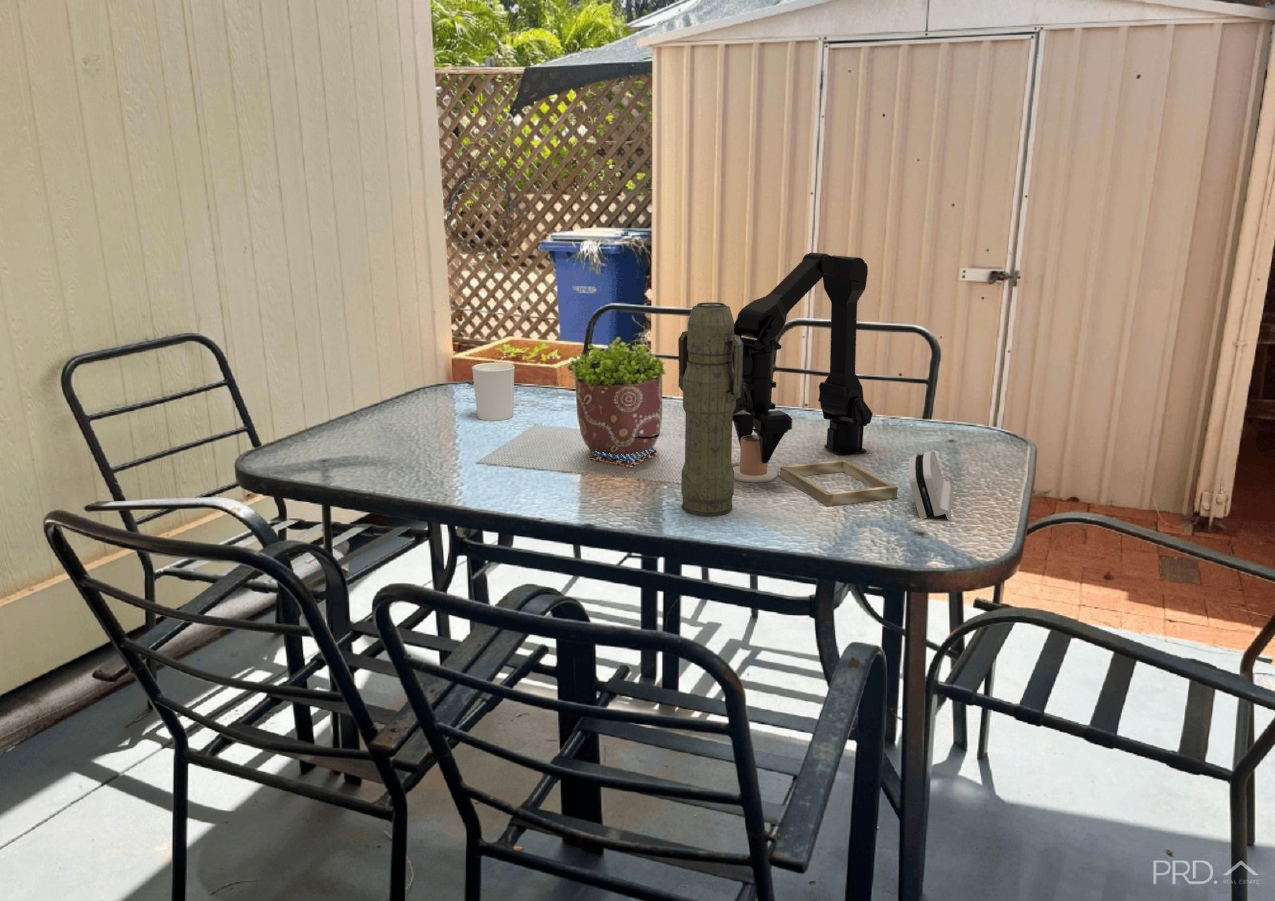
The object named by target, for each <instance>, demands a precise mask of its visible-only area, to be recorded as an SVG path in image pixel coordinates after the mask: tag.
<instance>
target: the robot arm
mask: <svg viewBox="0 0 1275 901" xmlns="http://www.w3.org/2000/svg"><path fill="white" fill-rule="evenodd" d="M868 272H869V270H868V264H867V262H865V260H864V259H863V258H862V257H857V256H844V255H830V254H828V253H823V252H822V253H821V252H808V253H806V254H805V255H804V256H803V257H802V261H800V263H799V264H798V265H797V266H795V268H794V269H793V270H792V271H791V272H790V273H788V274H787V276H786V277H784V279H782V281H780V282H779V284H777V285H776V286H775V287H774V289H772V290H771V292H770V293H768V294H767V295H765V296H763V297H760V298H757V299H755V300H752V301H751V302H750V303H748V304H747V305H745V306H744V307H742V308H741V309H740V311H739V312H738V314H737V317H736V320H735V321H734V333H735V335H738V336H739V337H740V339H741V341H742V342H743V371H742V389H741V398H738V399H736V408H735V410H734V412H733V419H732V424H733V426H734V428H735V432H736V435H737V440H738V444H739V447H740V448H741V437H743V436H746V435H753V432H754V433H755V435H758V436H759V441H760V453H761V461H762V463H768V464H769V462H770V459H771V458H772V456H773V454H774V452H775V450H776V448H777V446H778V445H779V443H780V441H782V439H783V436H785V434H786V433H788V432H789V430H792V428H793V418H792V417H791V415H789V413H786V412H784V411H782V410H779V409H778V410H776V403H774V402H772V395H773V394H772V392H773V391H772V390H773V389H777V382H776V381H774V380H773V368H774V367H773V366H774V365H773V364H774V351H779V350H781V349H782V345H781V344H780V343H779V342H778V341H777V340H776V337H778V335H779V333H780V332H781V331H782V329H783V328H784V326H786V322H787V318H788V316H787V315H788V314H789V312H790V311H791V310H792V309H793V308H794V307H795V306H796V305H797V304H798V303H799V302H800V301H801V300H802V299H803V298H804V297H805V296H806V295H807V294H808V292H810V290H811V289H813V287H815V285H817V284H818V282H819V281H820V280H822V283H823V290H824V291H825V293H826V295H827V297H828V298H829V301H830V305H831V306H830V308H831V309H830V346H829V347H830V349H829V350H830V352H829V353H830V356H829V361H830V362H829V374H828V375H827V377H826V379H825V381H821V382H820V383H819V385H818V389H819V396H818V399H817V400H818V402H819V403H820V406H819V407H820V408H821V411H822V416H823V420H829V427H828V428H827V432H826V444H824V446H823V447H824V448H825V449H827V450H829V451H831V452H833V453H835V454H837V456H838V455H839V456H845V455H853V454H863V453H867V449H865V448H863V444H864V427H866V426H868V424H871V422H872V418H873V416H874V415H873V412H872V410H871V408H870V407H869V406H868V404H867V403H866V401H864V400H865V399H864V391H863V390H864V389H863V386H862V384H861V382H860V380H859V378H858V376H857V374H856V361H857V360H856V357H857V356H856V354H857V321H858V318H857V317H858V316H857V315H858V301H859V300H860V298H861V297H862V295H863V293H864V292H865V290H866V287H867V281H868V280H867V279H868V275H869V274H868ZM734 356H735V345H734V350H733V353H732V360H733V368H734ZM740 448H739V449H740Z"/></svg>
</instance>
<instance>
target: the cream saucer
mask: <svg viewBox="0 0 1275 901" xmlns="http://www.w3.org/2000/svg"><path fill="white" fill-rule="evenodd" d="M732 467H733V470H734V481H739V482H742V483H749V484H750V483H751V484H760V483H761V484H762V483H768V482H769V483H770V482H773V481H775V480H776V479H777V478H778V471H777V470H776V469H775V468H772V467H769V466H767V473H766V474H764V475H760V476H750V475H745V474H742V473H740V465H736V466H732Z"/></svg>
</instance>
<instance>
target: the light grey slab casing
mask: <svg viewBox="0 0 1275 901" xmlns="http://www.w3.org/2000/svg"><path fill="white" fill-rule="evenodd" d="M908 479H909V480H908V481H909V485H910V489H911V492H912V497H913V499H914V503H915V506H916V509H917V514H918V518H919V517H921V518H925V519H927V518H928V516H930V514H931V515H932V516H934V517H938V516H942V515H945V516H946V519H950V520H951V521H952V516H951V510H952V511H953V505H952V502H954V494H953V492H954V490H953V485H952V483H951V482H949V481H947V480H945V479H944V478H943V474H942V471H941V468H940V464H939V460H938V458H937V456H936V452H935V451H925V452H924V453H923V454H921V453H916V454H914V455H912V456H910V458H909V461H908ZM921 518H920V519H921Z"/></svg>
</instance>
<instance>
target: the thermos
mask: <svg viewBox="0 0 1275 901" xmlns="http://www.w3.org/2000/svg"><path fill="white" fill-rule="evenodd" d="M734 323H735V321H734V316H733V313H732V310H731V307H730V306H729V305H727V304H726V303H724V302H715V301H714V302H713V301H712V302H711V301H710V302H699V303H697V304H696V305H693V306H692V307H691V310H690V314H689V316H688V319H687V330H684V331H682V333H681V334H680V335H679V338H678V340H677V341H678V342H677V343H678V345H677V346H678V347H677V348H678V349H677V350H678V383H677V385H678V387H679V389H680V390H681V392H682V408H683V411H684V413H685V430H684V433H685V435H684V436H685V437H684V440H685V441H684V463H683V466H682V469H681V481H680V482H681V483H680V484H681V490H680V491H681V493H680V494H681V496H682V504H681V508H682V510H683V511H684V512H685V513H687V514H691V515H695V516H698V517H699V516H700V517H718V516H723V515H726V514H729V513H730V512H732V510H733V497H734V494H735V492H734V491H735V479H734V470H733V467H734V466H733V464H732V457H733V456H732V453H733V451H732V448H733V445H732V444H733V421H732V419H733V412H734V410H735V408H736V399H738V398H741V389H742V371H743V342H742V341H741V339H740V337H739V336H738V335H735V333H734ZM734 345H735V356H734V368H733V360H732V353H733V350H734Z"/></svg>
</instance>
